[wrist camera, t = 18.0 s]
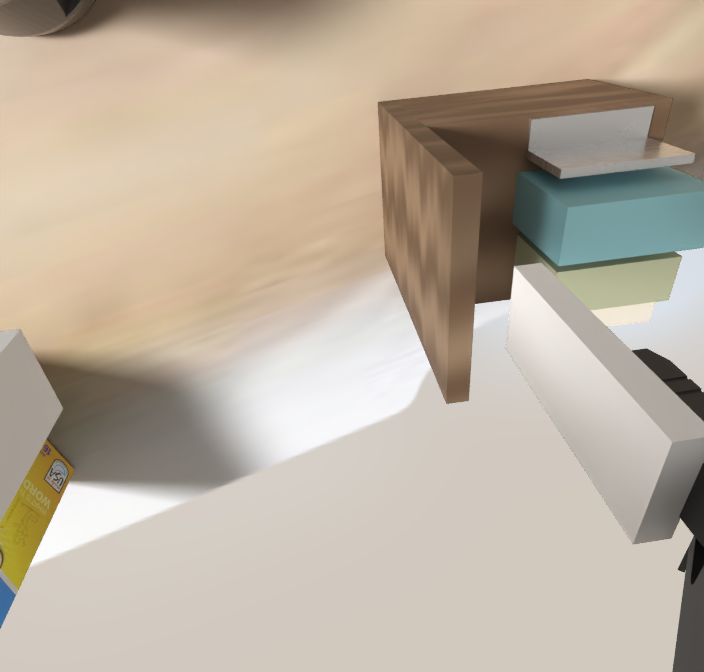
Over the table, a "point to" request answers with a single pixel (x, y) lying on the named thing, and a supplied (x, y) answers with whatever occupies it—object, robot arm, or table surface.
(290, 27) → the table surface
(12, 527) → the game box
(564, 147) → the bookend
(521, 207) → the teal book
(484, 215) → the walnut shelf
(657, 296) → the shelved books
